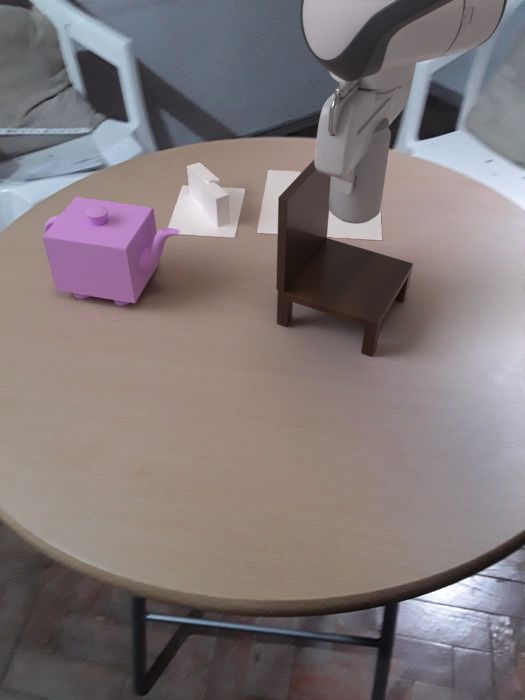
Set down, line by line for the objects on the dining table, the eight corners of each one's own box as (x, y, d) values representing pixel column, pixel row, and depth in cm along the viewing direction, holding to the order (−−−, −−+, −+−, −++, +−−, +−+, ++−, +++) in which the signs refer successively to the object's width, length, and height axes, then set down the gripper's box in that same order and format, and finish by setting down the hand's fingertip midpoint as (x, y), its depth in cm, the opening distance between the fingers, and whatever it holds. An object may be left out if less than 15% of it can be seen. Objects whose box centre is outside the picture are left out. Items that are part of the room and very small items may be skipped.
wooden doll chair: (406, 296, 98) (431, 172, 84) (372, 357, 89) (393, 229, 75) (316, 268, 103) (326, 146, 89) (275, 323, 94) (278, 197, 80)
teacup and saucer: (335, 185, 119) (337, 164, 117) (334, 210, 114) (336, 189, 111) (285, 183, 120) (286, 162, 117) (282, 207, 114) (282, 186, 112)
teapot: (42, 295, 98) (21, 222, 89) (73, 254, 105) (56, 182, 96) (174, 318, 94) (165, 244, 86) (196, 274, 101) (190, 201, 93)
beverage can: (359, 233, 81) (370, 139, 73) (317, 213, 84) (323, 121, 76) (389, 211, 84) (404, 119, 76) (348, 192, 87) (358, 102, 79)
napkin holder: (181, 185, 120) (178, 155, 116) (245, 188, 119) (245, 158, 115) (165, 234, 109) (162, 203, 105) (236, 237, 108) (235, 206, 104)
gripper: (364, 101, 63) (350, 226, 73) (430, 31, 76) (411, 144, 86) (302, 88, 65) (297, 211, 75) (377, 21, 78) (364, 134, 88)
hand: (358, 175), depth 81 cm, fingers closed on beverage can, 6 cm apart
